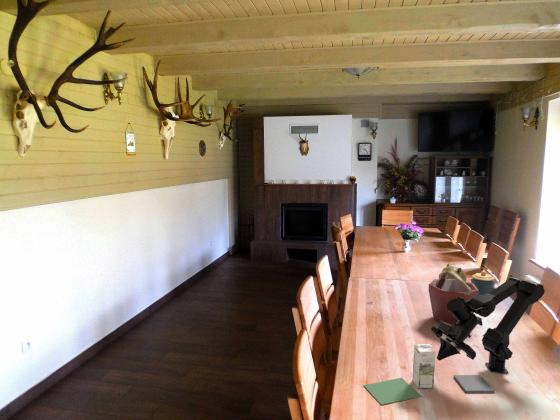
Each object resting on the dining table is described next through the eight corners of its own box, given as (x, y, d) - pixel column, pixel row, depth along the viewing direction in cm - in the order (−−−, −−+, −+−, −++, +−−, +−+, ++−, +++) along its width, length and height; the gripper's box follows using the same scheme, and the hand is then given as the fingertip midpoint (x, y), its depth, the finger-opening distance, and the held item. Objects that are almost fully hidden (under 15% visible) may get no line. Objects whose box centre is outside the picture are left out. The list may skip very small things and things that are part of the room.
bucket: (481, 333, 186) (484, 281, 183) (431, 329, 190) (433, 279, 187) (467, 313, 210) (470, 267, 206) (423, 310, 214) (425, 265, 211)
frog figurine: (432, 280, 265) (434, 262, 264) (454, 279, 271) (456, 262, 270) (446, 286, 252) (448, 268, 251) (469, 285, 258) (471, 268, 257)
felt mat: (401, 378, 149) (401, 377, 149) (421, 396, 138) (421, 395, 138) (363, 386, 144) (363, 385, 144) (381, 405, 133) (381, 404, 133)
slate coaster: (453, 377, 150) (453, 375, 149) (480, 376, 149) (480, 374, 149) (465, 392, 140) (465, 390, 140) (494, 392, 139) (494, 390, 139)
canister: (488, 297, 233) (490, 268, 230) (498, 305, 220) (500, 274, 217) (465, 296, 234) (467, 267, 232) (474, 304, 221) (476, 274, 219)
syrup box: (427, 379, 148) (428, 343, 146) (434, 389, 142) (435, 350, 140) (412, 380, 148) (413, 343, 146) (418, 389, 142) (419, 351, 140)
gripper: (435, 305, 154) (409, 336, 152) (471, 324, 136) (443, 359, 134) (450, 321, 157) (426, 352, 155) (488, 342, 139) (461, 377, 138)
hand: (437, 359), depth 146 cm, fingers closed
